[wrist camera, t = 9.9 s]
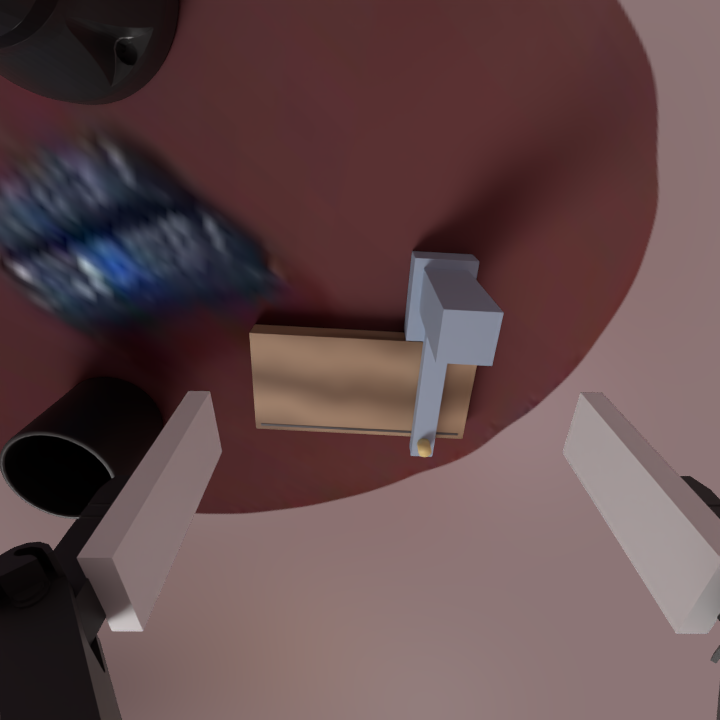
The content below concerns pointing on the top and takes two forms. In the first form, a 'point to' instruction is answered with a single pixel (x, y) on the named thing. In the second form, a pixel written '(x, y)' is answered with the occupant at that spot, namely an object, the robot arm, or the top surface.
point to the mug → (80, 445)
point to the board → (347, 382)
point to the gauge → (445, 330)
